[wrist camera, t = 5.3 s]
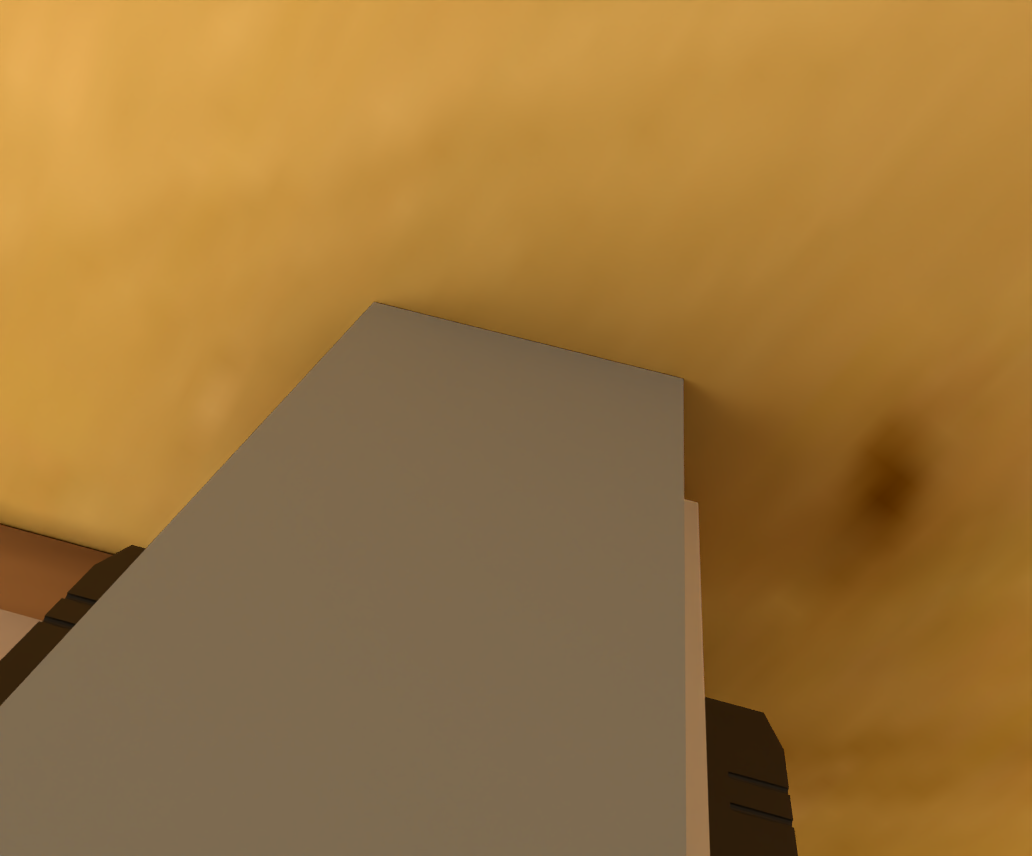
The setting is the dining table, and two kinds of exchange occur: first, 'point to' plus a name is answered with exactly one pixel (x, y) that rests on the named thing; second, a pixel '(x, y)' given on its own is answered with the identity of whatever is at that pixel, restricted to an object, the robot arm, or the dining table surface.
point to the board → (35, 579)
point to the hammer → (389, 626)
